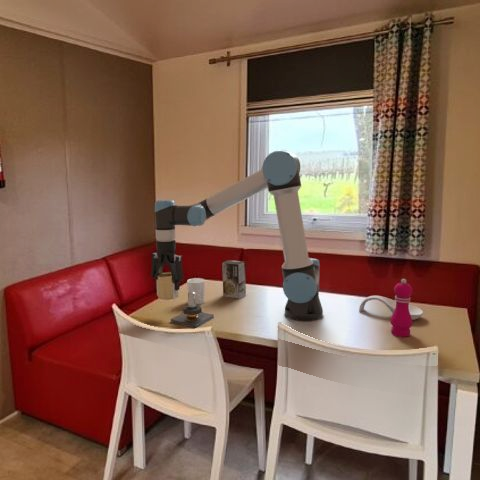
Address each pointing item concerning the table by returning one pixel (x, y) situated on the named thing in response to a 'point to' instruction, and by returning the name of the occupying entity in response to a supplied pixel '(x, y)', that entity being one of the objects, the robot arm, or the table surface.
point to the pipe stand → (192, 319)
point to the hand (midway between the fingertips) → (167, 296)
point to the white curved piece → (392, 306)
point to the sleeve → (165, 286)
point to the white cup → (197, 289)
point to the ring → (192, 312)
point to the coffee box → (234, 279)
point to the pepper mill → (402, 310)
